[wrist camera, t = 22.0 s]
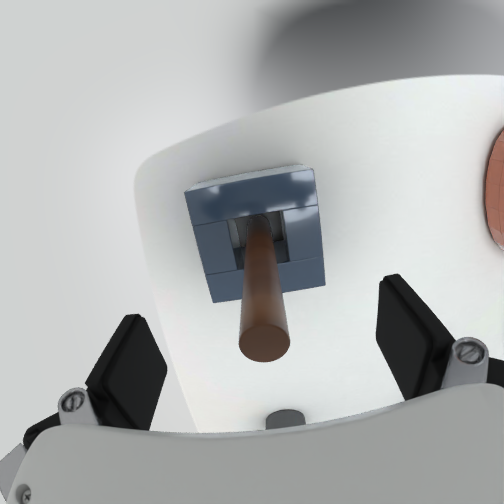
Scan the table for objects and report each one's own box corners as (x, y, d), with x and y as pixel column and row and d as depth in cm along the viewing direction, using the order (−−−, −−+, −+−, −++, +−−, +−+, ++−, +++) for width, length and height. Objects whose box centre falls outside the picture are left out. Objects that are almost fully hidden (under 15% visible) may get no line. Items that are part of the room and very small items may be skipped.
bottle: (262, 428, 37) (264, 512, 23) (269, 408, 35) (273, 502, 21) (299, 429, 37) (308, 510, 23) (309, 409, 35) (323, 499, 21)
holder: (197, 182, 24) (183, 191, 19) (301, 163, 23) (313, 168, 19) (219, 276, 27) (212, 303, 23) (314, 260, 27) (325, 285, 22)
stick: (245, 217, 25) (233, 328, 10) (268, 213, 25) (287, 320, 10) (249, 238, 26) (243, 365, 11) (271, 234, 26) (292, 359, 11)
